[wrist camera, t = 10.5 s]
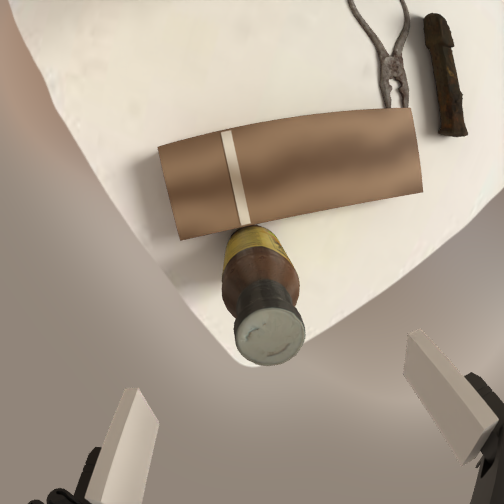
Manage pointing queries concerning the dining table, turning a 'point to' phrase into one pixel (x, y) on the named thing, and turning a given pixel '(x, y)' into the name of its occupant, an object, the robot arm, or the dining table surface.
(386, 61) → the pliers
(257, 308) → the sauce bottle
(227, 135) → the walnut plank
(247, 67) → the dining table surface
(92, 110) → the dining table surface
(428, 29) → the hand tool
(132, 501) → the robot arm
